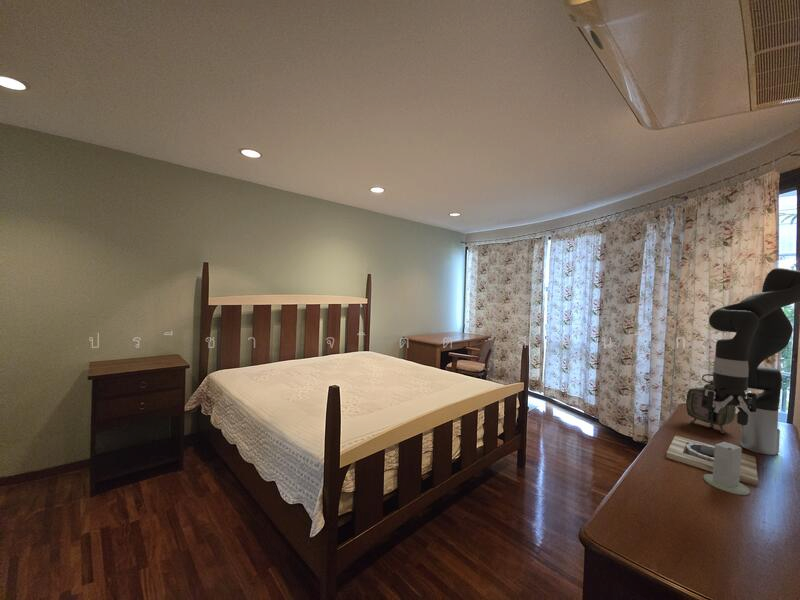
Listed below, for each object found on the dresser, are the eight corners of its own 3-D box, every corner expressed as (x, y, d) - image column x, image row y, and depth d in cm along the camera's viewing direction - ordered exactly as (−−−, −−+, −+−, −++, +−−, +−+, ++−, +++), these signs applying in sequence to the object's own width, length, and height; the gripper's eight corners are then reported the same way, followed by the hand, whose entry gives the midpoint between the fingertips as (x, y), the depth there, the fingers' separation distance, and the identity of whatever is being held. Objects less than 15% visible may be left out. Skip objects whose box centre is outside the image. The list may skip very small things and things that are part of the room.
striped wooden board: (674, 440, 128) (675, 435, 128) (755, 462, 112) (755, 457, 112) (666, 457, 114) (666, 452, 114) (757, 486, 97) (757, 479, 97)
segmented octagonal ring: (712, 452, 119) (712, 444, 119) (748, 471, 106) (748, 462, 106) (677, 450, 120) (677, 442, 120) (708, 468, 107) (709, 460, 107)
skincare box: (721, 477, 101) (723, 440, 100) (740, 485, 96) (742, 447, 96) (711, 481, 98) (713, 443, 98) (730, 489, 94) (732, 450, 94)
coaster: (726, 476, 102) (726, 474, 102) (760, 496, 92) (760, 494, 92) (694, 474, 103) (695, 473, 103) (725, 494, 93) (725, 492, 93)
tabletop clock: (685, 423, 147) (687, 371, 147) (695, 420, 151) (697, 370, 150) (726, 436, 134) (729, 379, 134) (736, 433, 137) (739, 377, 137)
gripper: (718, 375, 94) (715, 427, 94) (767, 377, 93) (764, 430, 93) (695, 369, 101) (693, 417, 101) (741, 370, 100) (738, 420, 101)
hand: (727, 423), depth 97 cm, fingers open, 8 cm apart
